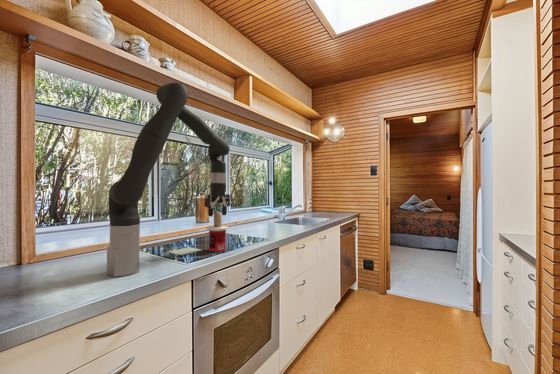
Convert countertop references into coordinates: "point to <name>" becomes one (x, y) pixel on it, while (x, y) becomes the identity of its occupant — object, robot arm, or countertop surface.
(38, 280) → the countertop surface
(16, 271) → the countertop surface
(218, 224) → the lid
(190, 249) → the mat
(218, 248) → the canned food
